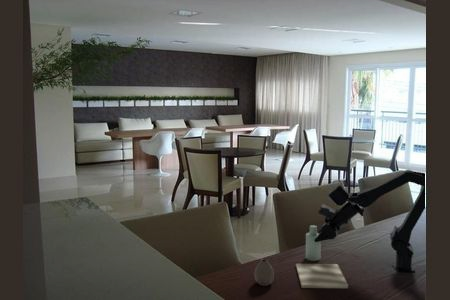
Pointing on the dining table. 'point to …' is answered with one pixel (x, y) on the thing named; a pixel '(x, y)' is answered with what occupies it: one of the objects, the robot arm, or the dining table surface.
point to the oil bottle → (313, 245)
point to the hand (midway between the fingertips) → (316, 237)
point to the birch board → (321, 276)
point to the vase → (264, 273)
